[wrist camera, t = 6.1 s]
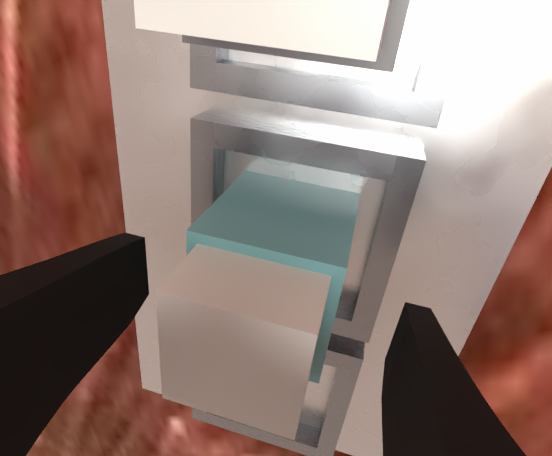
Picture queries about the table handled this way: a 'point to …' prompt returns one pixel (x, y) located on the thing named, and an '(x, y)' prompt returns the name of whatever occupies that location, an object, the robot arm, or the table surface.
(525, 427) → the table surface
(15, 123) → the table surface
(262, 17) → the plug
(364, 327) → the panel
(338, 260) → the plug
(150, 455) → the table surface
